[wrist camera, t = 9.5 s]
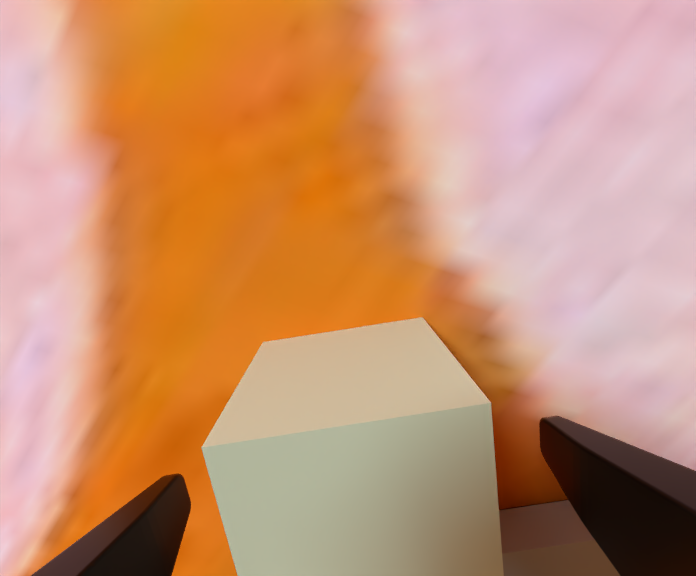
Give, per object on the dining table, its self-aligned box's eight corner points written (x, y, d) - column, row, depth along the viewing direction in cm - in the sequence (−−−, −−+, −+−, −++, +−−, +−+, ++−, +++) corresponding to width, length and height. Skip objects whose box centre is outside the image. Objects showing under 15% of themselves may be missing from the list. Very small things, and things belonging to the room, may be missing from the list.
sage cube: (421, 316, 11) (490, 402, 6) (437, 454, 12) (507, 625, 7) (263, 341, 11) (201, 447, 6) (293, 477, 12) (262, 662, 7)
